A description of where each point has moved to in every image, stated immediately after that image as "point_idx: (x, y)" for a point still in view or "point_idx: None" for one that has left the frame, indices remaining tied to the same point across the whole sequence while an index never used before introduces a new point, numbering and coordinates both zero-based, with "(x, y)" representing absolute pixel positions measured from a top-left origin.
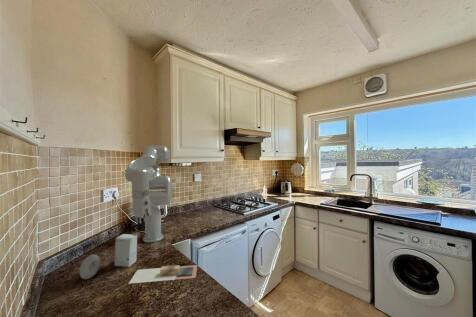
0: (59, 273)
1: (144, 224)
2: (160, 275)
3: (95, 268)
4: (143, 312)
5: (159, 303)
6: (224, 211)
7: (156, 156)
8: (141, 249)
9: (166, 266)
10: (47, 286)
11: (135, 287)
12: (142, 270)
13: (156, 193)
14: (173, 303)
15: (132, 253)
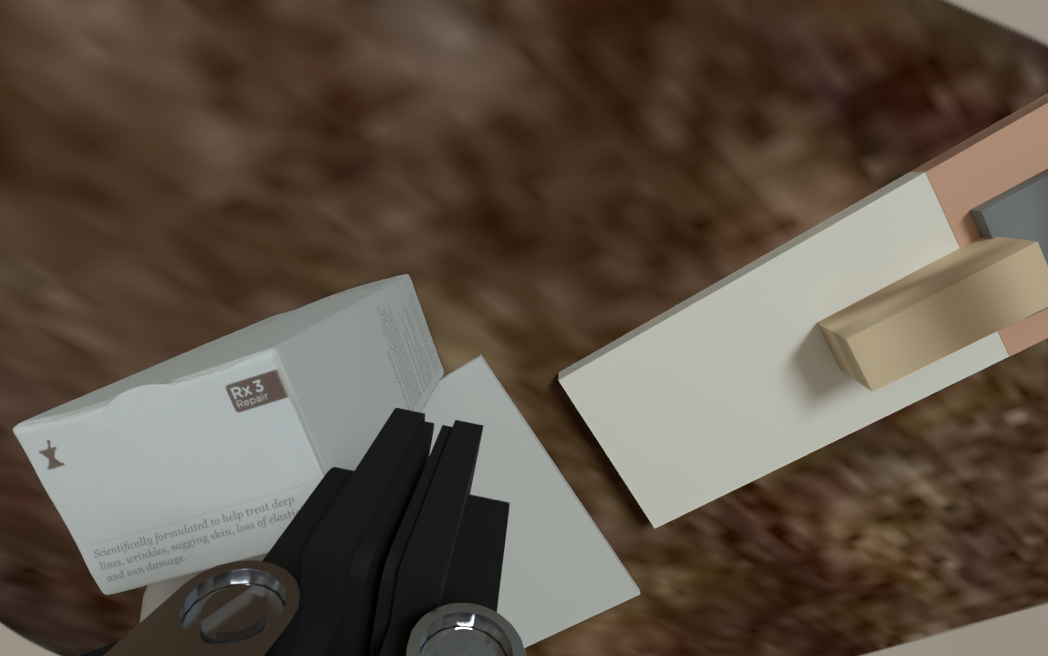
0: (43, 594)
1: (459, 533)
2: (845, 371)
3: (263, 558)
4: (953, 629)
5: (1009, 550)
6: None
7: None
8: (183, 40)
9: (896, 319)
10: None
11: (711, 504)
12: (611, 371)
13: None
14: None
15: (400, 373)
